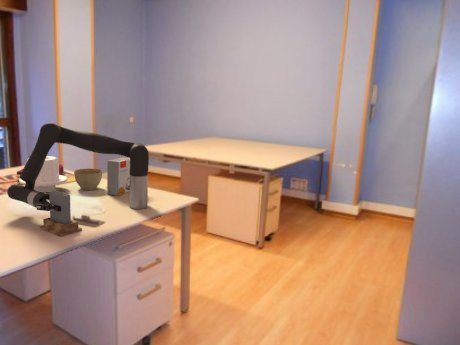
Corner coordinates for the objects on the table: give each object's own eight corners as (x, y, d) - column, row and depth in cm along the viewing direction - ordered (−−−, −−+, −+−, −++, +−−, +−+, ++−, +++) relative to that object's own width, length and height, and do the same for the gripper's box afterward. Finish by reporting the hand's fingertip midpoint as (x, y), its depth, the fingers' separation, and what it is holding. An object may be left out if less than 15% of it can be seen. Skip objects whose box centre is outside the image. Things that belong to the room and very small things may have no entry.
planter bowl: (85, 184, 244) (85, 167, 242) (108, 187, 240) (107, 170, 238) (68, 189, 229) (67, 171, 227) (92, 193, 225) (91, 175, 222)
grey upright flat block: (50, 222, 168) (49, 191, 165) (56, 221, 171) (55, 190, 168) (64, 228, 163) (63, 196, 160) (70, 226, 165) (70, 195, 162)
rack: (39, 228, 167) (39, 219, 166) (60, 222, 175) (60, 214, 174) (61, 236, 159) (60, 227, 158) (82, 230, 167) (81, 221, 166)
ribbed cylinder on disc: (59, 183, 243) (58, 153, 239) (73, 192, 224) (72, 160, 221) (14, 188, 226) (12, 156, 222) (26, 198, 208) (24, 163, 204)
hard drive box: (118, 196, 221) (117, 162, 217) (106, 194, 224) (106, 160, 220) (133, 190, 236) (133, 158, 232) (122, 188, 238) (122, 156, 234)
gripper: (24, 194, 166) (48, 203, 157) (54, 189, 178) (78, 196, 168) (25, 211, 167) (49, 220, 158) (55, 204, 179) (78, 213, 170)
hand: (64, 208), depth 164 cm, fingers closed on grey upright flat block, 3 cm apart
